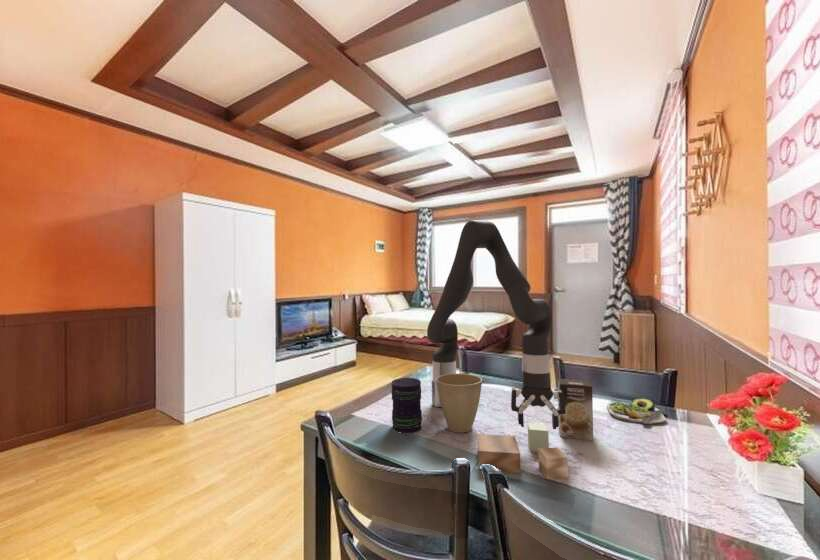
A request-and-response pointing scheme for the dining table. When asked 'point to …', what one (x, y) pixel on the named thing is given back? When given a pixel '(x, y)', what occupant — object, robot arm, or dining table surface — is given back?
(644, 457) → the dining table surface
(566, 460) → the maple block
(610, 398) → the dining table surface
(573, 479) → the dining table surface
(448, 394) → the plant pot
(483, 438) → the walnut block
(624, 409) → the salad plate
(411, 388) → the storage jar
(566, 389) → the coffee box
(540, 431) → the sage block
